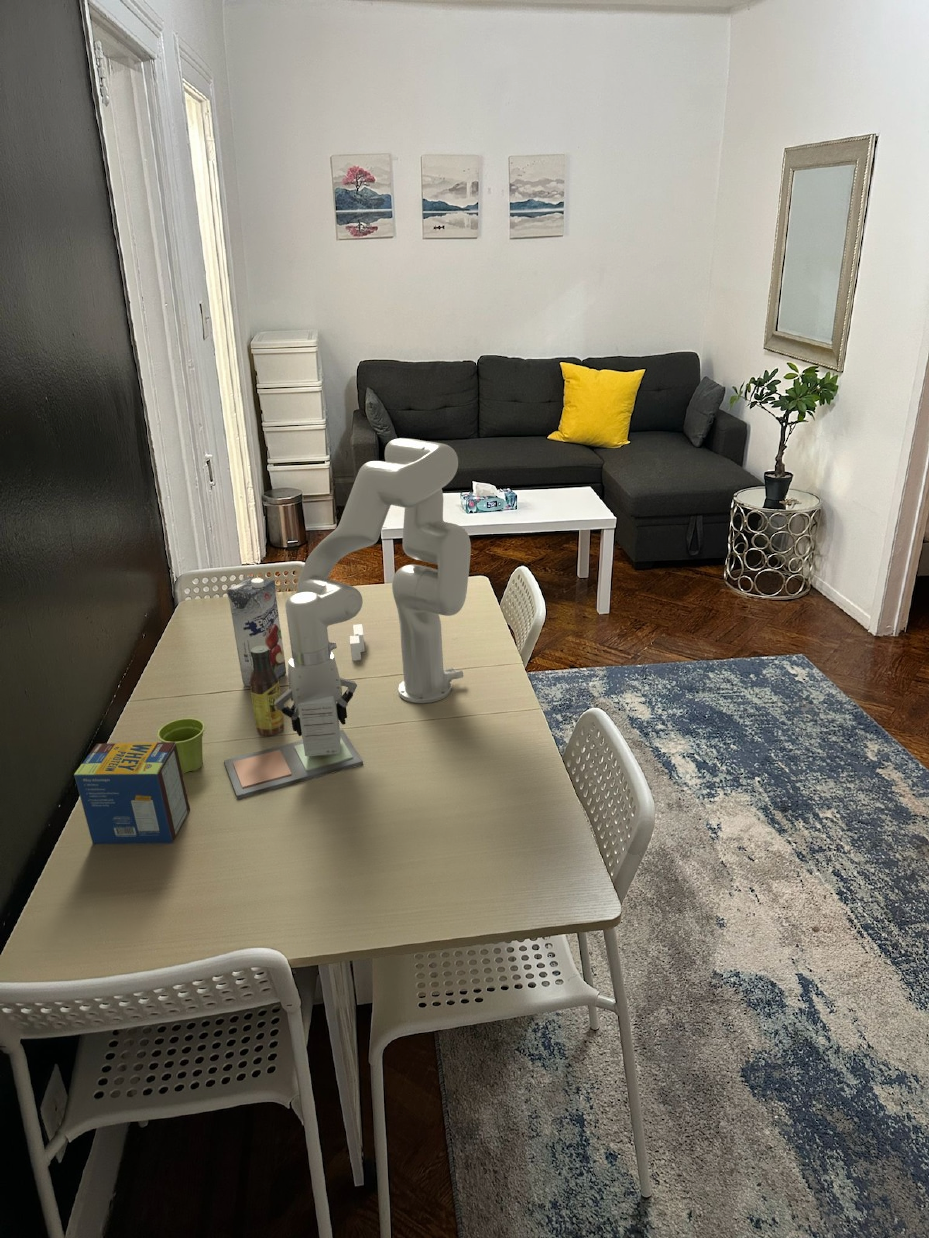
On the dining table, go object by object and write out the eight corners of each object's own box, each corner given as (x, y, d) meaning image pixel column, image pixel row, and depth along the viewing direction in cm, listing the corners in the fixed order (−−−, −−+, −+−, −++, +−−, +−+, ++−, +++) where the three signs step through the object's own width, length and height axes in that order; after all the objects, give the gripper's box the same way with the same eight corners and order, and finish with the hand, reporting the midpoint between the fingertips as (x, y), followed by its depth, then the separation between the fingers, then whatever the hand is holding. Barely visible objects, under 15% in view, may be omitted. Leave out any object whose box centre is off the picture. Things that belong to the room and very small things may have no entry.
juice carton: (237, 687, 216) (220, 585, 205) (262, 668, 225) (246, 569, 214) (268, 692, 213) (252, 589, 202) (291, 673, 222) (278, 573, 211)
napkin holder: (355, 637, 241) (353, 618, 238) (389, 645, 236) (388, 626, 233) (321, 660, 229) (318, 640, 227) (356, 669, 224) (354, 648, 221)
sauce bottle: (278, 738, 194) (266, 657, 186) (252, 736, 195) (239, 655, 187) (289, 722, 200) (278, 643, 192) (263, 720, 201) (251, 642, 193)
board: (343, 732, 195) (342, 728, 195) (363, 764, 183) (362, 759, 183) (224, 763, 186) (223, 759, 185) (237, 798, 174) (236, 794, 174)
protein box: (113, 810, 172) (96, 742, 166) (191, 809, 172) (177, 741, 165) (90, 845, 163) (72, 774, 157) (173, 844, 162) (157, 773, 156)
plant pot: (219, 756, 188) (213, 721, 185) (193, 781, 180) (186, 745, 177) (182, 750, 191) (175, 715, 188) (155, 774, 183) (147, 738, 180)
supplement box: (306, 738, 189) (299, 686, 184) (341, 735, 190) (335, 683, 184) (304, 757, 183) (296, 704, 177) (340, 754, 183) (333, 701, 178)
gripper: (347, 636, 183) (354, 708, 190) (263, 655, 177) (275, 729, 184) (358, 650, 177) (365, 725, 184) (272, 670, 171) (283, 746, 178)
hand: (320, 726), depth 184 cm, fingers closed on supplement box, 8 cm apart
